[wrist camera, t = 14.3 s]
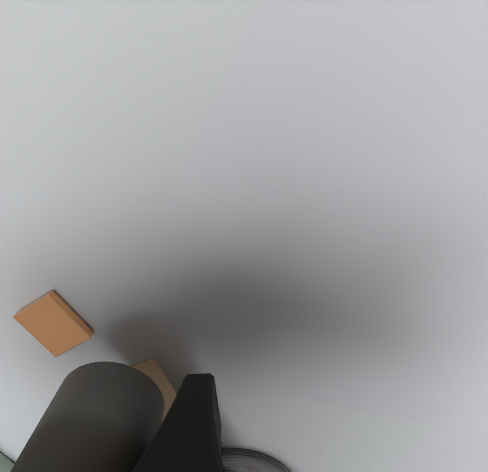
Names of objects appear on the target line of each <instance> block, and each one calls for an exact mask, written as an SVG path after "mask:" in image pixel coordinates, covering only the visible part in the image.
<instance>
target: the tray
mask: <svg viewBox="0 0 488 472" xmlns="http://www.w3.org/2000/svg"><path fill="white" fill-rule="evenodd" d="M13 466H14V463H13V462H12V461H10V460H9V459H8V458H6V457H5V456H4V455H2V454H1V453H0V472H10V471H11V469H12V468H13Z"/></svg>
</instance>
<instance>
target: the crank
mask: <svg viewBox="0 0 488 472" xmlns="http://www.w3.org/2000/svg"><path fill="white" fill-rule="evenodd" d="M176 395H177V394H176V392H175V390H174V389H173V387H172V385H171V384H170V382H169V381H168V379H167V377H166V376H165V374H164V372H163V371H162V369H161V368H160V366H159V364H158V363H157V361H156V359H155V358H153V359H150V360H147V361H143V362H140V363H137V364H134V365H130V366H128V365H124V364H121V363H115V362H94V363H89V364H86V365H83V366H80V367H78V368H77V369H75V370H73V371H72V372H71V373H70V374H69V375H68V376H67V377H66V378H65V380H64V381H63V383H62V384H61V386H60V388H59V390H58V391H57V393H56V395H55V396H54V398H53V400H52V401H51V403H50V405H49V407H48V408H47V410H46V412H45V413H44V415H43V417H42V418H41V420H40V422H39V423H38V425H37V427H36V429H35V430H34V432H33V434H32V435H31V437H30V439H29V440H28V442H27V444H26V446H25V447H24V449H23V451H22V452H21V454H20V456H19V457H18V459H17V461H16V463H15V464H14V466H13V468H12V469H11V471H10V472H132V471H133V469H134V468H135V466H136V464H137V463H138V461H139V460H140V458H141V457H142V455H143V454H144V452H145V450H146V449H147V447H148V446H149V444H150V442H151V440H152V439H153V437H154V435H155V434H156V432H157V430H158V428H159V427H160V425H161V423H162V422H163V420H164V418H165V416H166V414H167V412H168V411H169V409H170V407H171V405H172V403H173V401H174V399H175V397H176Z"/></svg>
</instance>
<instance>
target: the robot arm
mask: <svg viewBox="0 0 488 472" xmlns="http://www.w3.org/2000/svg"><path fill="white" fill-rule="evenodd" d="M132 472H225V471H224V467H223V463H222V456H221V422H220V415H219V408H218V401H217V394H216V386H215V379H214V376H213V375H211V373H207V374H187V376H186V377H185V378H184V381H183V383H182V385H181V387H180V389H179V391H178V393H177V395H176V397H175V399H174V401H173V403H172V405H171V407H170V409H169V411H168V412H167V414H166V416H165V418H164V420H163V422H162V423H161V425H160V427H159V428H158V430H157V432H156V434H155V435H154V437H153V439H152V440H151V442H150V444H149V446H148V447H147V449H146V450H145V452H144V454H143V455H142V457H141V458H140V460H139V461H138V463H137V464H136V466H135V468H134V469H133V471H132Z"/></svg>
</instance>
